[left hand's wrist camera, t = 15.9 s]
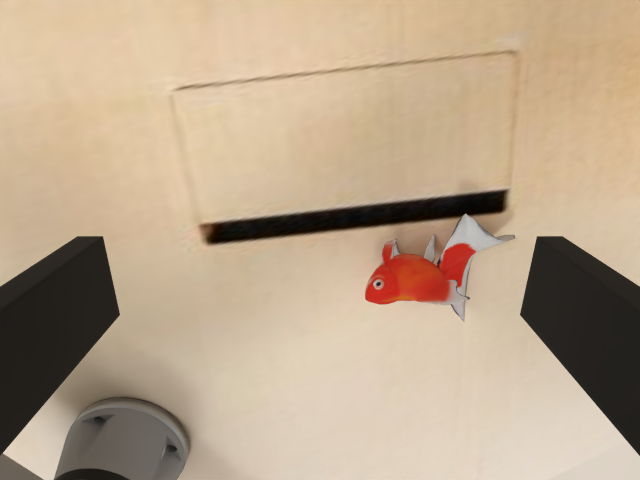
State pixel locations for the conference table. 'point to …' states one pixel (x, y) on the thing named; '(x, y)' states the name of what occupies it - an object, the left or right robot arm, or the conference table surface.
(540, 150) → the conference table surface
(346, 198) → the conference table surface
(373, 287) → the fish
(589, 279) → the left robot arm
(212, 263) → the conference table surface
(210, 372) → the conference table surface
